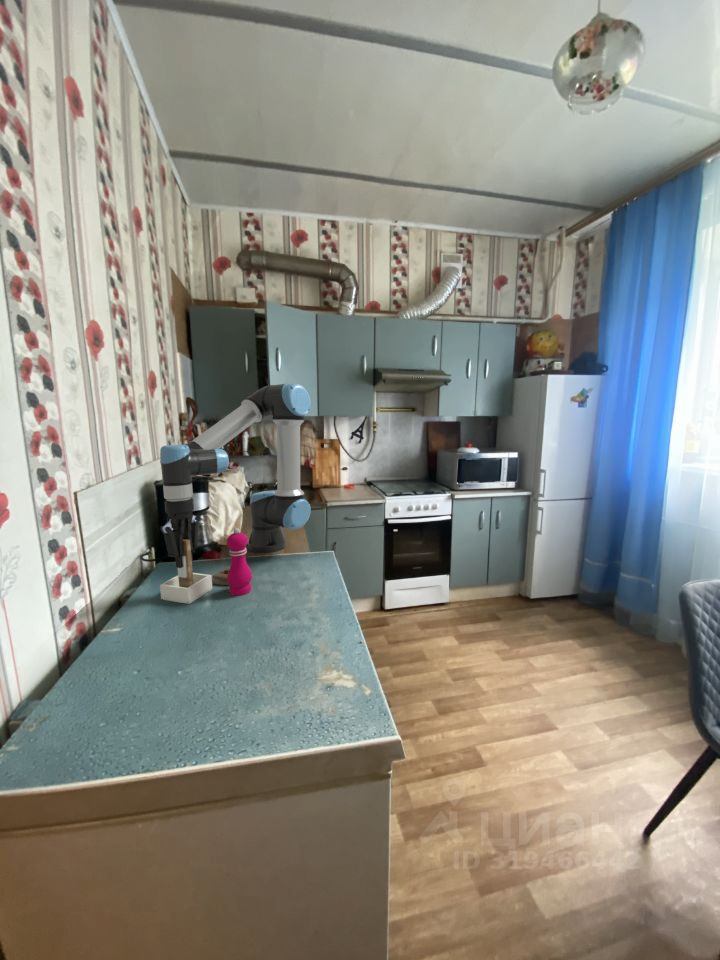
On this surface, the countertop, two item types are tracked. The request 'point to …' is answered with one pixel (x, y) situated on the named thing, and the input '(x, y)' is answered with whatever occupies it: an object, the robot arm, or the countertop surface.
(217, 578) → the holder
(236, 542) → the pepper mill
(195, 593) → the white storage tray
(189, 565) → the brown wooden block
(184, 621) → the countertop surface
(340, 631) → the countertop surface
